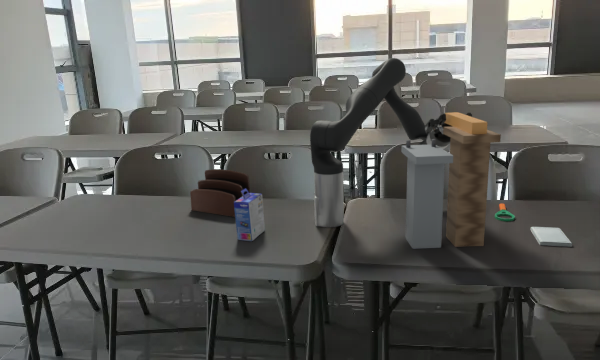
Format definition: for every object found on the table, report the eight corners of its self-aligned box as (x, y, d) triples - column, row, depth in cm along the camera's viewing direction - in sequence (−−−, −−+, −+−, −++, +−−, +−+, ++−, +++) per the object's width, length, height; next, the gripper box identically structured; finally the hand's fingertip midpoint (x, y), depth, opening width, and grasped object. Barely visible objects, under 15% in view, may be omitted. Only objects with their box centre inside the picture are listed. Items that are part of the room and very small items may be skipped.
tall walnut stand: (457, 252, 132) (463, 135, 124) (439, 231, 148) (443, 126, 140) (492, 251, 132) (500, 134, 124) (470, 230, 148) (476, 125, 140)
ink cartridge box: (249, 228, 155) (246, 185, 152) (265, 230, 154) (263, 186, 150) (235, 240, 146) (232, 193, 143) (252, 241, 145) (249, 195, 141)
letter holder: (208, 203, 185) (205, 167, 181) (252, 209, 175) (249, 171, 172) (191, 210, 176) (187, 173, 173) (235, 218, 167) (233, 178, 163)
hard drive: (572, 243, 133) (560, 227, 145) (540, 241, 135) (530, 226, 147) (572, 248, 134) (559, 232, 145) (539, 247, 136) (529, 231, 147)
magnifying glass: (515, 223, 154) (515, 218, 154) (495, 221, 156) (495, 216, 155) (511, 208, 168) (511, 204, 168) (492, 207, 170) (492, 202, 169)
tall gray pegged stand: (413, 254, 132) (416, 149, 125) (399, 233, 147) (401, 138, 140) (448, 253, 132) (453, 147, 125) (431, 232, 148) (434, 137, 140)
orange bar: (471, 134, 126) (472, 122, 125) (444, 122, 147) (444, 112, 147) (486, 133, 126) (487, 122, 125) (457, 122, 147) (457, 112, 147)
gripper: (417, 126, 158) (431, 104, 142) (461, 124, 159) (480, 103, 143) (420, 147, 156) (434, 128, 140) (464, 146, 157) (483, 127, 141)
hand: (457, 116), depth 142 cm, fingers open, 7 cm apart
